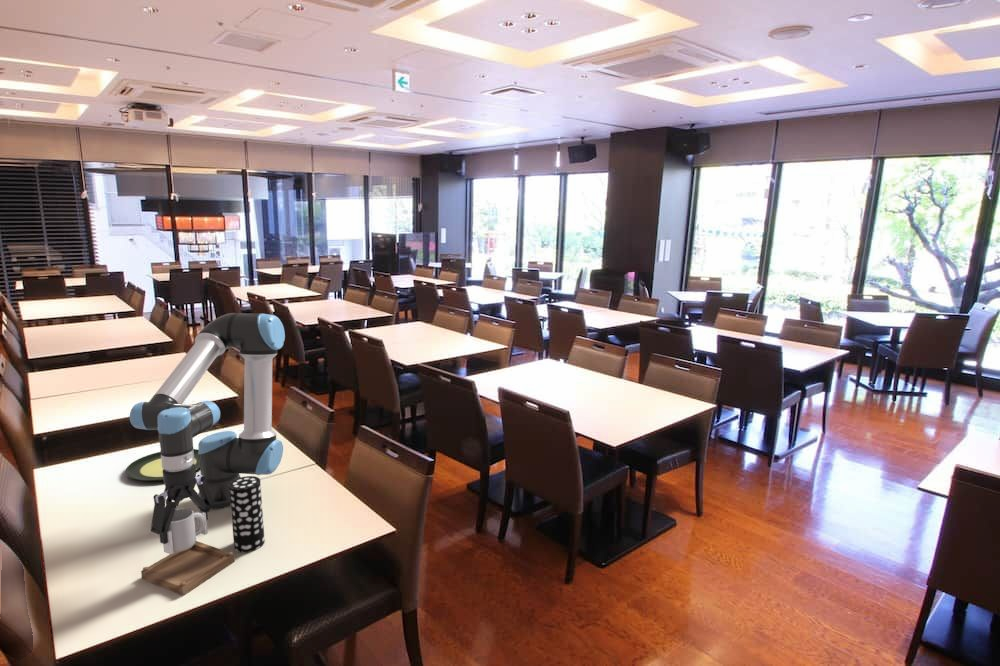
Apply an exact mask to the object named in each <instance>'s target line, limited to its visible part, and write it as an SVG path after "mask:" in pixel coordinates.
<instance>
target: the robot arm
mask: <svg viewBox="0 0 1000 666" xmlns="http://www.w3.org/2000/svg"><path fill="white" fill-rule="evenodd" d="M285 338H286V334H285V327H284V325H283V323H282V321H281V319H280V318H279V317H278V316H276V315H275V314H268V313H246V312H244V313H243V312H241V313H239V312H230V313H226V314H224V315H223V314H222V315H220V316H219V317H216V318H215V319H213V320H212V321H210V322H209V323H208V324H207V325H205V326H204V327H203V328H202V329H201V330H200V331H199V332H198V334H197V335H196V336H195V338H194V344H193V345H192V346H191V348H190V349H189V350H188V351H187V353H186V354H185V356H184V357H183V358H182V359H181V360H180V362H178V364H177V365H176V367H175V368H174V369H173V370H172V372H171V373H170V374H169V376H168V377H167V378H166V379H165V380H164V382H163V383H162V385H161V386H160V387H159V388H158V389H157V391H155V393H154V394H153V396H152V397H151V399H150V400H149V401H148V402H147V401H141V402H137V403H136V404H134V405H133V406H132V408H131V409H130V413H129V422H130V424H131V426H132V427H134V428H135V429H140V430H147V431H157V432H158V441H159V445H160V452H161V463H162V468H163V480H162V481H163V483H164V486H165V488H164V490H163V492H161V493H159V494H157V493H155V494H154V496H153V498H152V499H153V502H154V504H153V505H154V507H153V511H152V512H153V513H152V518H151V526H150V532H151V533H153V534H157V535H159V541H160V544H162V546H163V552H164V553H166V554H168V555H170V554H173V553H174V551H173V542H172V532H171V530H168V529H169V527H170V524H171V521H172V518H173V515H174V512H175V510H176V509H177V508H178V506H179V505H180V503H181V502H182V501H183V500H185V499H190V501H192V503H193V504H194V505H195V506H196V507H197V508H198V510H197V511H196V513H201V514H202V515H203V516H204V518H205V528H204V530H203V532H202V533H201V534H202V535H204V536H205V535H208V532H209V531H208V520H209V512H210V511H211V510H220V509H222V510H223V509H226V508H229V507H230V508H231V503H230V492H229V484H230V482H232V481H233V480H235V479H237V478H241V477H242V476H241V475H240V474H242V475H243V474H244V475H245V474H246V475H257V476H260V475H264V476H265V475H271V474H272V473H274V472H275V471H276V470H277V468H279V465H280V464H281V462H282V458H283V454H284V444H283V442H282V441H281V440H280V439H277V432H276V431H275V430H273V428H272V426H273V425H272V424H273V423H272V419H273V415H272V413H273V411H272V410H273V359H274V358H275V357H276V356H277V355H278V350H280V349H282V348H283V346H284V342H285V340H286V339H285ZM232 348H236V349H239V355H240V356H241V358H243V360H244V372H243V373H244V374H243V375H244V379H243V380H244V382H243V383H244V384H243V385H244V387H243V388H244V391H243V393H244V395H243V399H244V401H243V402H244V403H243V430H242V431H241V433H239V435H238V434H237V433H236V432H235V431H232V430H224V431H218V432H216V433H215V432H214V433H212V434H209V435H206V436H205V437H203V438H201V440H200V441H199V442H198V447H197V448H198V449H197V450H198V454H199V462H200V468H199V469H200V470H199V471H200V474H197V472H196V471H197V470H195V464H194V462H195V460H194V450H193V449H194V439H193V438H195V437H197V436H198V435H200V434H201V433H203V432H206V431H207V430H209V429H211V428H212V427H213V426H214V425H215V424H217V423H218V422H219V420H220V419H221V410H220V407H219V406H218V405H217V404H216V403H215V402H213V401H210V400H203V401H200V402H197V403H196V404H186V403H184V402H185V400H186V399H187V398H188V396H189V395H190V394H191V392H192V391H193V390H194V389H195V387H196V386H197V384H198V383H199V382H200V380H201V379H202V378H203V376H204V375H205V373H206V372H207V371H208V369H209V368H210V367H211V365H212V364H213V362H214V361H215V359H216V358H217V357H219V356H222V355H223V354H224V353H225V351H226V350H228V349H232ZM237 435H238V436H237ZM195 486H197V489H198V492H197V491H196V490H195ZM196 520H197V521H196V522H197V528H198V527H199V521H198V519H197V518H196ZM201 534H200V535H201Z"/></svg>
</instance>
